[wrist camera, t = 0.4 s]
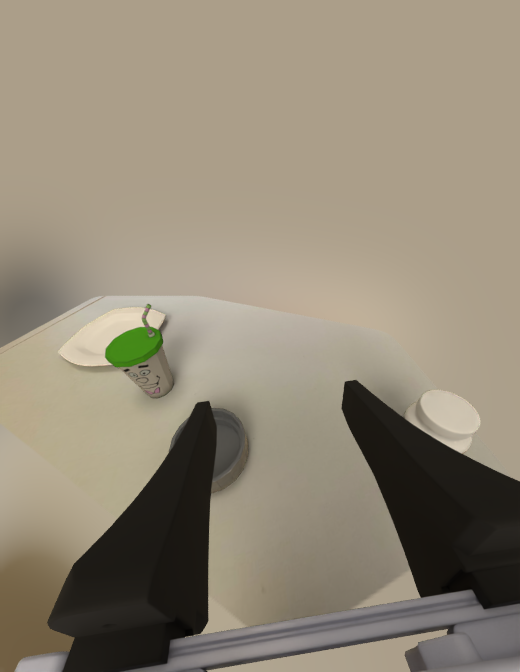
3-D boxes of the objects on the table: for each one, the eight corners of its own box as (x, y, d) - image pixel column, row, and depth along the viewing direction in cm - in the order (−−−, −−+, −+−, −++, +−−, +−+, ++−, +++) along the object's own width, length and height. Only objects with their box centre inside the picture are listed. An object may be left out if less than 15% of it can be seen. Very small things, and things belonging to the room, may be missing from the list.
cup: (131, 410, 37) (72, 340, 27) (143, 373, 43) (99, 305, 33) (180, 402, 37) (139, 330, 28) (185, 366, 43) (153, 296, 33)
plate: (179, 317, 56) (176, 310, 55) (121, 379, 42) (116, 372, 41) (117, 310, 61) (114, 304, 60) (49, 363, 48) (42, 356, 47)
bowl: (255, 482, 27) (251, 471, 25) (175, 504, 27) (164, 495, 24) (243, 414, 34) (239, 401, 32) (180, 430, 34) (171, 417, 31)
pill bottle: (441, 492, 25) (492, 452, 19) (384, 465, 28) (410, 421, 21) (442, 444, 29) (485, 397, 22) (391, 424, 31) (416, 377, 25)
